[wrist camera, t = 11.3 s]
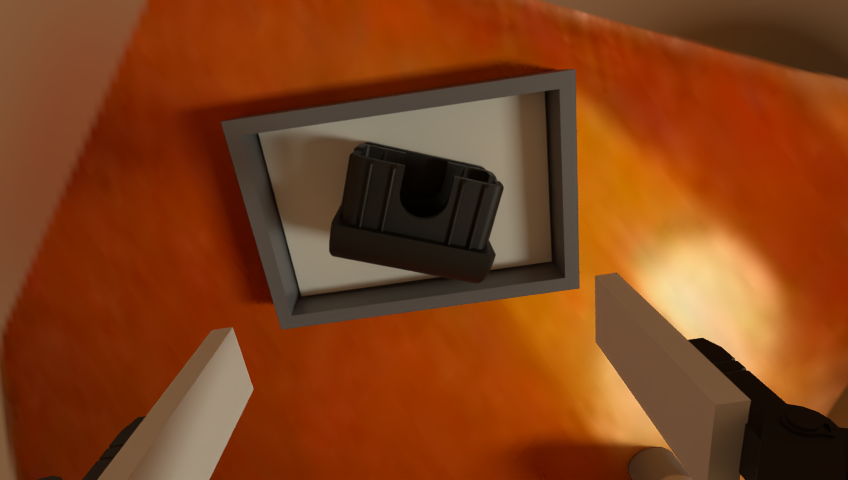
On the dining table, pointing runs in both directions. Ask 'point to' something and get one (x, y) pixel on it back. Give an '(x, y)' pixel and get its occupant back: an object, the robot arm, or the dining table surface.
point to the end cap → (416, 213)
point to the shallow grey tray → (425, 133)
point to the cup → (657, 466)
